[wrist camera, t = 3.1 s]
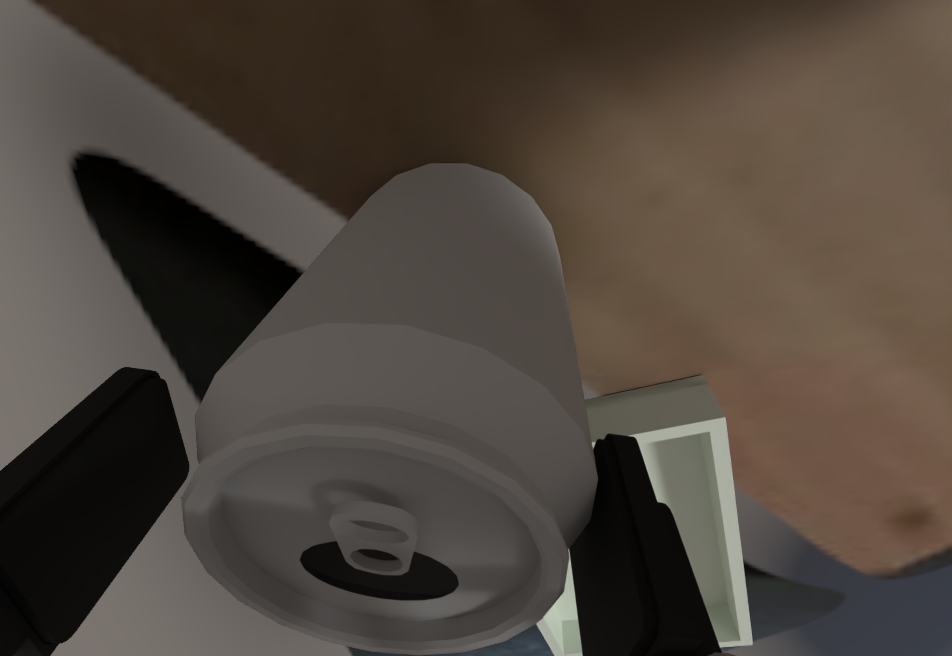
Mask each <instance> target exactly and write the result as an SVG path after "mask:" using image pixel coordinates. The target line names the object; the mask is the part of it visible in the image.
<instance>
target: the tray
mask: <svg viewBox="0 0 952 656" xmlns="http://www.w3.org/2000/svg"><path fill="white" fill-rule="evenodd" d="M585 406H586V411H587V417H588V423H589V429H590V435H591V441H592V446H593V448H594V445H595V443H596V441H597V439H604V438H605V436H606V435H607V434H608V433H610V434H618V435H625V436H632V437H635V438H636V440H637V442H638V444H639V447H640V450H641V453H642V456H643V459H644V462H645V465H646V468H647V471H648V474H649V478H650V481H651V484H652V487H653V490H654V493H655V496H656V499H657V502H661V503H665V504H666V505H667V506H668V507H669V508H670V510H671V512H672V514H673V516H674V519H675V522H676V525H677V527H678V530H679V533H680V536H681V539H682V542H683V544H684V547H685V550H686V553H687V556H688V559H689V561H690V564H691V567H692V570H693V573H694V575H695V578H696V581H697V584H698V587H699V590H700V592H701V595H702V598H703V601H704V604H705V606H706V609H707V612H708V615H709V618H710V621H711V623H712V626H713V629H714V632H715V635H716V638H717V640H718V643H719V646H720V647H731V646H744V645H753V641H752V633H751V624H750V616H749V608H748V600H747V591H746V583H745V575H744V567H743V559H742V550H741V542H740V534H739V526H738V517H737V509H736V502H735V493H734V484H733V476H732V468H731V460H730V451H729V443H728V435H727V427H726V418H725V416H724V414H723V412H722V410H721V408H720V406H719V404H718V402H717V400H716V398H715V396H714V395H713V393H712V391H711V389H710V387H709V385H708V383H707V381H706V379H705V377H704V375H699V376H695V377H690V378H685V379H681V380H676V381H671V382H667V383H662V384H657V385H653V386H648V387H643V388H639V389H634V390H629V391H625V392H620V393H615V394H611V395H606V396H601V397H597V398H592V399H587V400H585ZM568 551H569V549H568ZM536 624H537V626H538V628H539V629H540V631H541V633H542V635H543V636H544V638H545V640H546V642H547V643H548V645H549V647H550V648H551V650H552V652H553V654H554V655H555V656H583V655H582V647H581V639H580V631H579V623H578V615H577V607H576V599H575V591H574V584H573V576H572V568H571V560H570V552H569V563H568V570H567V576H566V582H565V589H564V592H563V594H562V595H561V596H560V597H559V599H558V600H557V601H556V602H555V604H554V605H553V606H552V607H551V609H550V610H549V611H548V612H547V613H546V615H545V616H544V617H543V618H542V619H541V620H540V621H539V622H538V623H536Z"/></svg>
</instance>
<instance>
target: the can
mask: <svg viewBox="0 0 952 656" xmlns="http://www.w3.org/2000/svg"><path fill="white" fill-rule="evenodd" d="M195 423H196V441H197V459H198V462H199V466H198V468H197V470H196V471H195V473H194V475H193V477H192V479H191V481H190V483H189V484H188V486H187V488H186V490H185V492H184V494H183V496H182V497H181V499H182V511H183V522H184V532H185V535H186V538H187V540H188V542H189V543H190V545H191V547H192V548H193V550H194V552H195V553H196V555H197V557H198V558H199V560H200V562H201V563H202V565H203V566H204V568H205V570H206V571H207V573H208V574H209V575H211V576H212V577H213V578H214V579H215V580H216V581H217V582H219V583H220V584H221V585H222V586H223V587H224V588H225V589H226V590H227V591H229V592H230V593H231V594H232V595H233V596H234V597H235V598H236V599H237V600H239V601H240V602H242V603H244V604H245V605H247V606H249V607H251V608H252V609H254V610H256V611H258V612H259V613H261V614H263V615H265V616H266V617H268V618H270V619H272V620H273V621H275V622H277V623H278V624H281V625H283V626H286V627H289V628H291V629H294V630H297V631H299V632H302V633H305V634H308V635H310V636H312V637H316V638H318V639H321V640H323V641H327V642H331V643H336V644H340V645H345V646H349V647H354V648H358V649H363V650H367V651H373V652H385V653H397V654H410V655H429V654H443V653H457V652H466V651H470V650H473V649H477V648H481V647H485V646H489V645H492V644H496V643H500V642H504V641H506V640H508V639H510V638H511V637H513V636H515V635H517V634H518V633H520V632H522V631H524V630H526V629H527V628H529V627H531V626H533V625H534V624H536V623H538V622H539V621H540V620H541V619H542V618H543V617H544V616H545V615H546V613H547V612H548V611H549V610H550V609H551V607H552V606H553V605H554V604H555V602H556V601H557V600H558V599H559V597H560V596H561V595H562V594H563V592H564V589H565V582H566V576H567V570H568V563H569V551H568V549H569V548H570V547H571V545H572V544H573V543H574V541H575V540H576V539H577V537H578V536H579V535H580V533H581V532H582V531H583V529H584V528H585V527H586V525H587V524H588V523H589V521H590V520H591V515H592V509H593V504H594V498H595V493H596V488H597V482H598V475H597V470H596V464H595V458H594V452H593V446H592V441H591V435H590V429H589V423H588V417H587V411H586V406H585V400H584V394H583V388H582V382H581V377H580V371H579V365H578V359H577V353H576V348H575V342H574V336H573V330H572V324H571V318H570V313H569V307H568V301H567V295H566V289H565V284H564V278H563V272H562V266H561V260H560V255H559V252H558V248H557V244H556V240H555V237H554V233H553V229H552V226H551V224H550V223H549V221H548V220H547V218H546V217H545V215H544V214H543V212H542V211H541V210H540V208H539V207H538V205H537V204H536V202H535V201H534V199H533V198H532V197H531V196H530V195H529V194H527V193H526V192H525V191H523V190H522V189H521V188H519V187H518V186H517V185H515V184H514V183H512V182H511V181H510V180H508V179H507V178H506V177H504V176H503V175H501V174H498V173H495V172H492V171H489V170H486V169H483V168H480V167H477V166H474V165H471V164H468V163H429V164H427V165H424V166H421V167H418V168H415V169H412V170H409V171H407V172H404V173H401V174H398V175H396V176H395V177H393V178H392V179H391V180H390V181H389V182H387V183H386V184H385V185H384V186H382V187H381V188H380V189H379V190H378V191H376V192H375V193H374V194H373V195H371V196H370V197H369V199H368V200H367V201H366V202H365V203H364V204H363V205H362V207H361V208H360V209H359V210H358V211H357V212H356V213H355V215H354V216H353V217H352V218H351V219H350V220H349V222H348V223H347V224H346V225H345V226H344V227H343V229H342V230H341V231H340V232H339V233H338V234H337V235H336V236H335V238H334V239H333V240H332V241H331V242H330V243H329V244H328V246H327V247H326V248H325V249H324V250H323V251H322V252H321V254H320V255H319V256H318V257H317V258H316V259H315V261H314V262H313V263H312V264H311V265H310V266H309V267H308V269H307V270H306V271H305V272H304V273H303V274H302V275H301V277H300V278H299V279H298V280H297V281H296V282H295V283H294V285H293V286H292V287H291V288H290V289H289V290H288V291H287V293H286V294H285V295H284V296H283V297H282V298H281V299H280V301H279V302H278V303H277V304H276V305H275V306H274V308H273V309H272V310H271V311H270V312H269V313H268V314H267V316H266V317H265V318H264V319H263V320H262V321H261V322H260V324H259V325H258V326H257V327H256V328H255V329H254V330H253V332H252V333H251V334H250V335H249V336H248V337H247V338H246V340H245V341H244V342H243V343H242V344H241V345H240V347H239V348H238V349H237V350H236V351H235V352H234V353H233V355H232V356H231V357H230V358H229V359H228V360H227V361H226V363H225V364H224V365H223V366H222V367H221V368H220V369H219V371H218V372H217V373H216V374H215V376H214V378H213V380H212V382H211V384H210V386H209V388H208V390H207V392H206V394H205V396H204V398H203V401H202V403H201V405H200V407H199V409H198V411H197V413H196V415H195Z"/></svg>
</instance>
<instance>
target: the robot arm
mask: <svg viewBox="0 0 952 656" xmlns="http://www.w3.org/2000/svg"><path fill="white" fill-rule="evenodd" d="M593 452H594V458H595V464H596V470H597V475H598V482H597V488H596V493H595V498H594V504H593V509H592V515H591V520H590V521H589V523H588V524H587V525H586V527H585V528H584V529H583V531H582V532H581V533H580V535H579V536H578V537H577V539H576V540H575V541H574V543H573V544H572V545H571V547H570V548H569V552H570V560H571V568H572V576H573V584H574V591H575V599H576V607H577V615H578V623H579V631H580V639H581V647H582V655H583V656H735V655H732V654H729V653H722V652H721V649H720V646H719V643H718V640H717V638H716V635H715V632H714V629H713V626H712V623H711V621H710V618H709V615H708V612H707V609H706V606H705V604H704V601H703V598H702V595H701V592H700V590H699V587H698V584H697V581H696V578H695V575H694V573H693V570H692V567H691V564H690V561H689V559H688V556H687V553H686V550H685V547H684V544H683V542H682V539H681V536H680V533H679V530H678V527H677V525H676V522H675V519H674V516H673V514H672V512H671V510H670V508H669V507H668V506H667V505H666V504H665V503H661V502H657V499H656V496H655V493H654V490H653V487H652V484H651V481H650V478H649V474H648V471H647V468H646V465H645V462H644V459H643V456H642V453H641V450H640V447H639V444H638V442H637V440H636V438H635V437H632V436H625V435H618V434H610V433H608V434H607V435H606V436H605V438H604V439H597V441H596V443H595V445H594V448H593ZM188 472H189V461H188V458H187V454H186V451H185V447H184V443H183V440H182V436H181V433H180V429H179V426H178V422H177V418H176V415H175V411H174V408H173V404H172V401H171V397H170V393H169V390H168V387H167V383H166V381H165V380H164V379H161V378H160V376H159V374H158V373H157V372H156V371H152V370H145V369H137V368H130V367H124V368H121V369H120V370H118V371H117V372H115V373H114V374H113V375H112V376H111V377H110V378H108V379H107V380H106V381H105V382H104V383H103V384H101V385H100V386H99V387H98V388H97V389H96V390H94V391H93V392H92V393H91V394H90V395H88V396H87V397H86V398H85V399H84V400H83V401H82V402H80V403H79V404H78V405H77V406H76V407H74V409H72V410H71V411H70V412H69V413H68V414H66V415H65V416H64V417H63V418H62V419H60V421H58V422H57V423H56V424H55V425H54V426H52V427H51V428H50V429H49V430H48V431H46V432H45V433H44V434H43V435H42V436H41V437H39V438H38V439H37V440H36V441H35V442H34V443H32V444H31V445H30V446H29V447H28V448H27V449H25V450H24V451H23V452H22V453H21V454H20V455H18V456H17V457H16V458H15V459H14V460H13V461H11V462H10V463H9V464H8V465H7V466H5V467H4V468H3V469H2V470H1V471H0V656H50V655H51V654H52V652H53V651H54V650H55V648H56V647H57V646H58V644H59V643H63V642H65V641H67V640H68V639H69V638H71V637H72V635H73V634H74V633H75V632H76V631H77V629H78V628H79V627H80V625H81V624H82V622H83V621H84V620H85V618H86V617H87V615H88V614H89V613H90V611H91V610H92V608H93V607H94V606H95V604H96V603H97V601H98V600H99V599H100V598H101V596H102V595H103V593H104V592H105V591H106V589H107V588H108V586H109V585H110V583H111V582H112V581H113V580H114V578H115V577H116V575H117V574H118V573H119V571H120V570H121V569H122V567H123V566H124V564H125V563H126V562H127V560H128V559H129V557H130V556H131V555H132V553H133V552H134V550H135V549H136V548H137V546H138V545H139V544H140V542H141V541H142V540H143V538H144V537H145V535H146V534H147V533H148V531H149V530H150V529H151V527H152V526H153V524H154V523H155V522H156V520H157V519H158V517H159V516H160V515H161V513H162V512H163V511H164V509H165V508H166V506H167V505H168V503H169V502H170V501H171V500H172V498H173V497H174V495H175V494H176V492H177V491H178V490H179V488H180V487H181V486H182V484H183V483H184V481H185V480H186V478H187V476H188Z"/></svg>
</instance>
